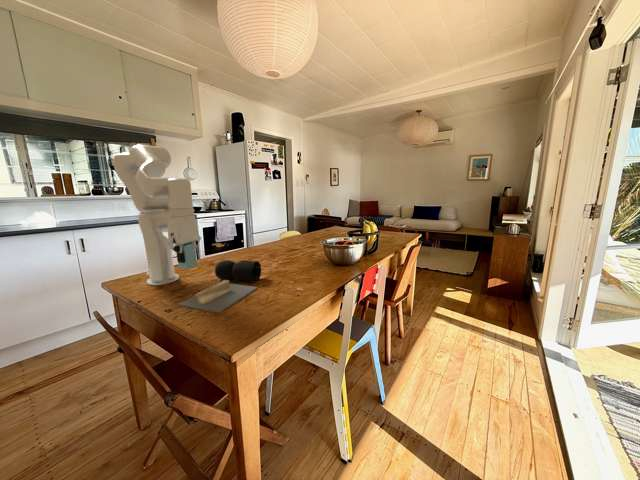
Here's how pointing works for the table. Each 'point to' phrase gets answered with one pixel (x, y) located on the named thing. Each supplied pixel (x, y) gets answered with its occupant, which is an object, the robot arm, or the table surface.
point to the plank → (213, 292)
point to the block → (189, 256)
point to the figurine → (238, 270)
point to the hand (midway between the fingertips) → (187, 259)
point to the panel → (221, 299)
